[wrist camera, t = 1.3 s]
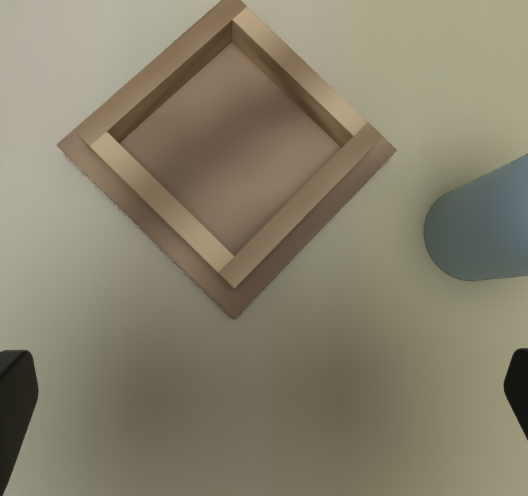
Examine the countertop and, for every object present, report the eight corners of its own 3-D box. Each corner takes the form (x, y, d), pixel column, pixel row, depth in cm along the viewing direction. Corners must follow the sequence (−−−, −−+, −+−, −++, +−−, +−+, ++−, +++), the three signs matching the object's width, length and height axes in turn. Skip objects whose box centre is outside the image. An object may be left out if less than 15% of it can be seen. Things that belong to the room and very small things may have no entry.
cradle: (388, 157, 24) (411, 136, 21) (233, 318, 22) (234, 321, 19) (231, 7, 24) (231, -35, 21) (65, 153, 22) (40, 130, 19)
